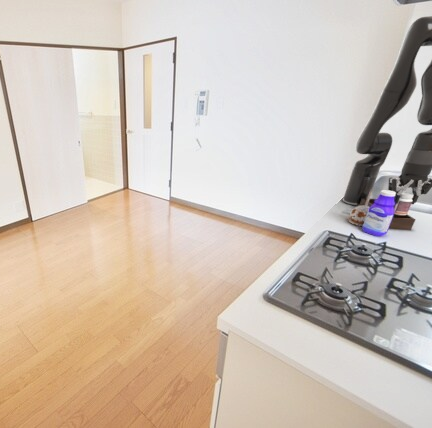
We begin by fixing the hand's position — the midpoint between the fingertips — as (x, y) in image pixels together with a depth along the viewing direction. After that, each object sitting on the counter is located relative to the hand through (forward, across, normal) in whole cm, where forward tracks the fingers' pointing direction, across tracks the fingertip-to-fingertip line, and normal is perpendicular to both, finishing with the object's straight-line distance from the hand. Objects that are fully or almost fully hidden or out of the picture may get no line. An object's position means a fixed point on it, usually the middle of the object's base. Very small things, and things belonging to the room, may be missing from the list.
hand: (402, 203), depth 110 cm
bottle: (+10, +11, +8) cm, 17 cm away
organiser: (+10, 0, -7) cm, 12 cm away
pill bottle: (+5, 0, 0) cm, 5 cm away
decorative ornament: (+10, +12, 0) cm, 15 cm away
